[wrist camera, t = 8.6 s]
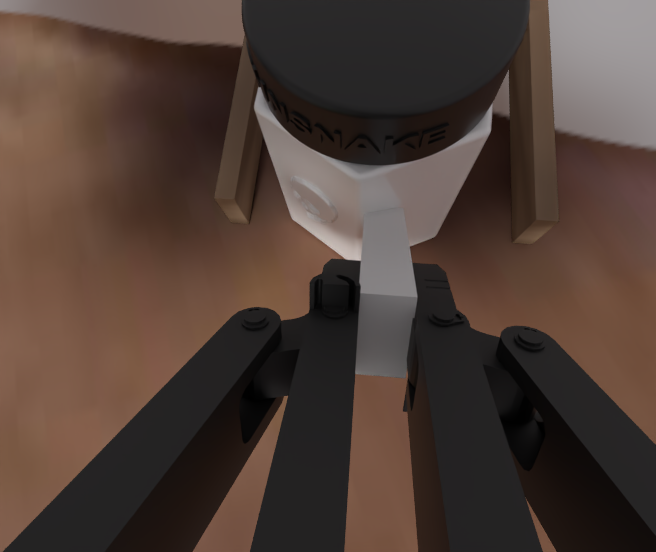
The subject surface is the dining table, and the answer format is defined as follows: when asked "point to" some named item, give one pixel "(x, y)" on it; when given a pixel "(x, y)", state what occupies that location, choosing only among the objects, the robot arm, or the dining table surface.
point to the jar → (377, 104)
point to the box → (525, 137)
